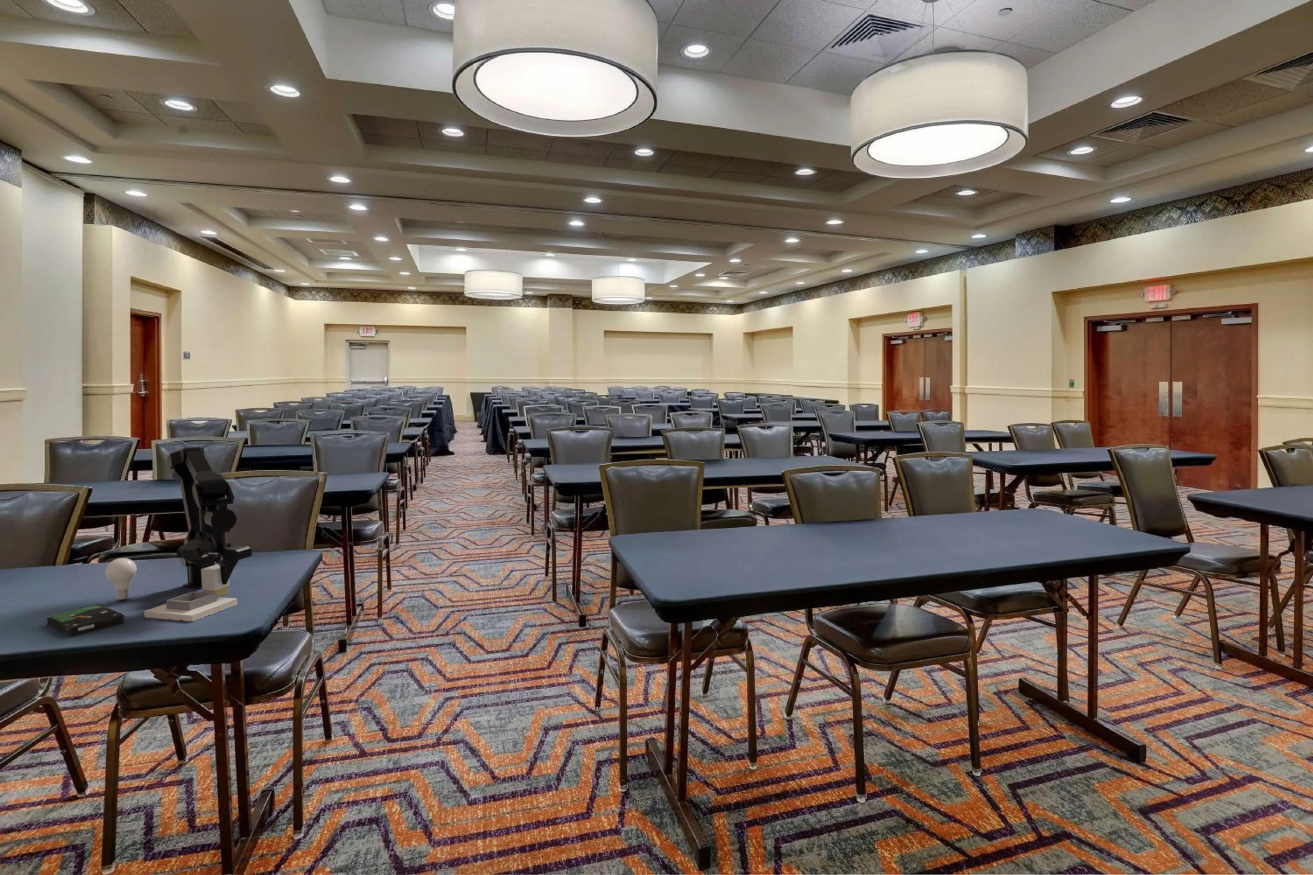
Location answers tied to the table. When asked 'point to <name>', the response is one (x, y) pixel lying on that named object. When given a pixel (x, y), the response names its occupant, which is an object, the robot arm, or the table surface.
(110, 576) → the lightbulb
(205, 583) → the plug
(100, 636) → the table surface
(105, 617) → the disk drive
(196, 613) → the socket plate
